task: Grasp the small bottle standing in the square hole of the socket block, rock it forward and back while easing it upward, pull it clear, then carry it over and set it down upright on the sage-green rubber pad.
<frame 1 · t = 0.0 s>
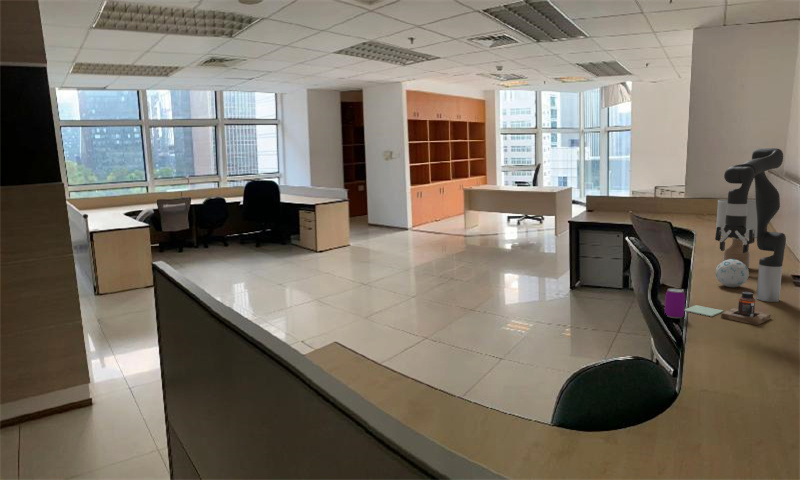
hand: (733, 251, 224), 29 cm above the table, fingers open, 8 cm apart
socket block: (745, 318, 227), on the table
pad: (703, 311, 238), on the table
supplement bottle: (745, 318, 227), resting in socket block
beverage can: (674, 316, 232), on the table
lamp: (735, 268, 328), on the table
puzzle ball: (730, 287, 281), on the table
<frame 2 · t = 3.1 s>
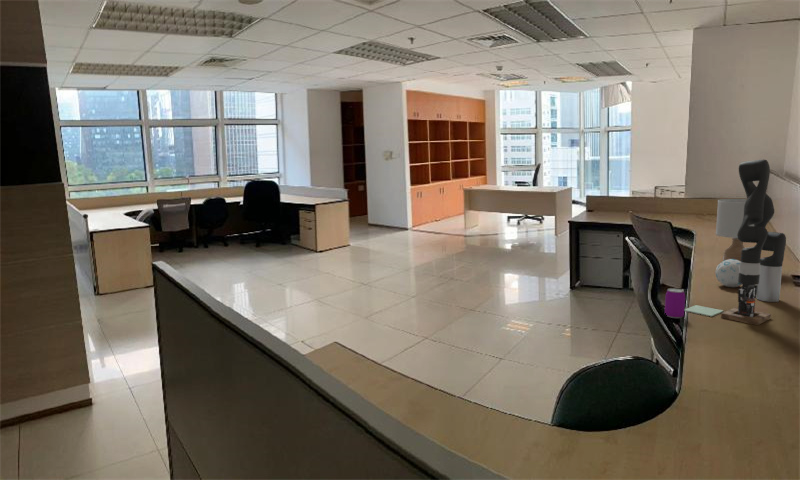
hand: (746, 310, 227), 4 cm above the table, fingers closed on supplement bottle, 6 cm apart
supplement bottle: (745, 318, 227), resting in socket block, touching gripper
everything else where it was.
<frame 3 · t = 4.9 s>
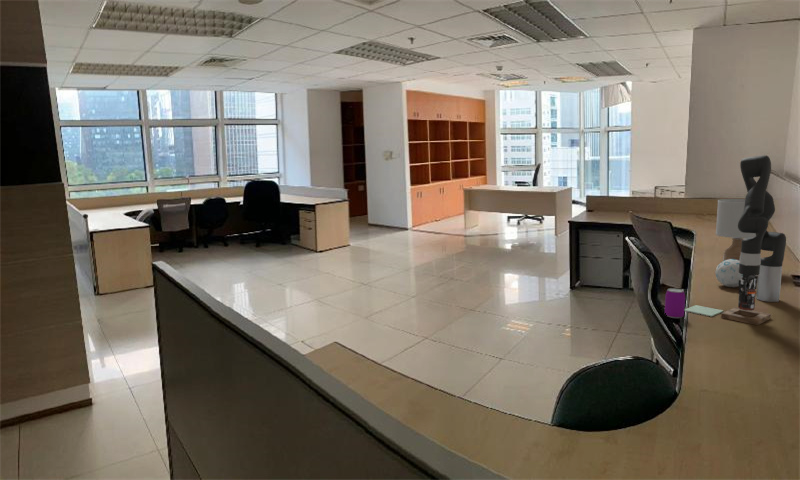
hand: (746, 300, 226), 8 cm above the table, fingers closed on supplement bottle, 6 cm apart
supplement bottle: (746, 309, 227), point 4 cm above the table, touching gripper
everything else where it was.
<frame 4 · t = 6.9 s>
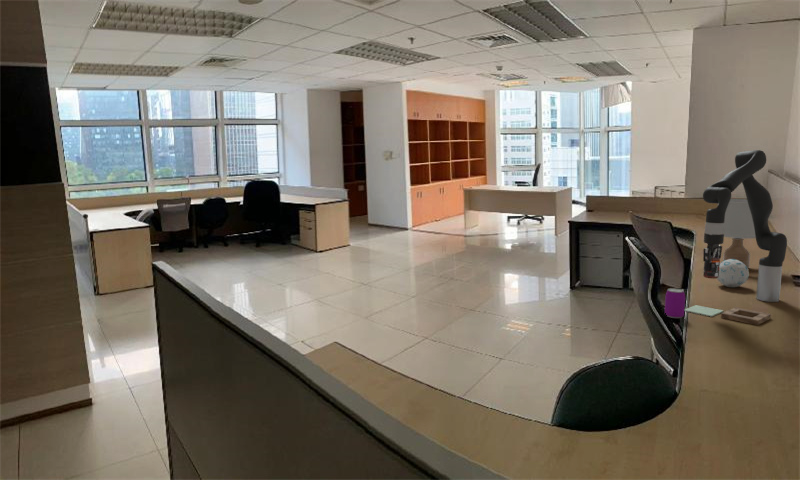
hand: (711, 269, 234), 20 cm above the table, fingers closed on supplement bottle, 6 cm apart
supplement bottle: (710, 278, 234), point 16 cm above the table, touching gripper
everything else where it was.
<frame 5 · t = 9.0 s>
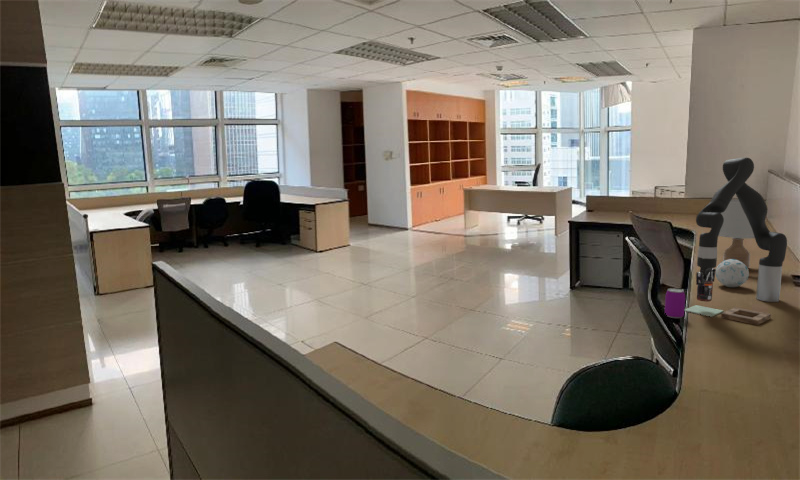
hand: (704, 292, 237), 9 cm above the table, fingers closed on supplement bottle, 6 cm apart
supplement bottle: (704, 300, 238), point 5 cm above the table, touching gripper
everything else where it was.
when the fingers open (5 cm above the table, at t = 10.7 s): supplement bottle drops 1 cm, resting on pad.
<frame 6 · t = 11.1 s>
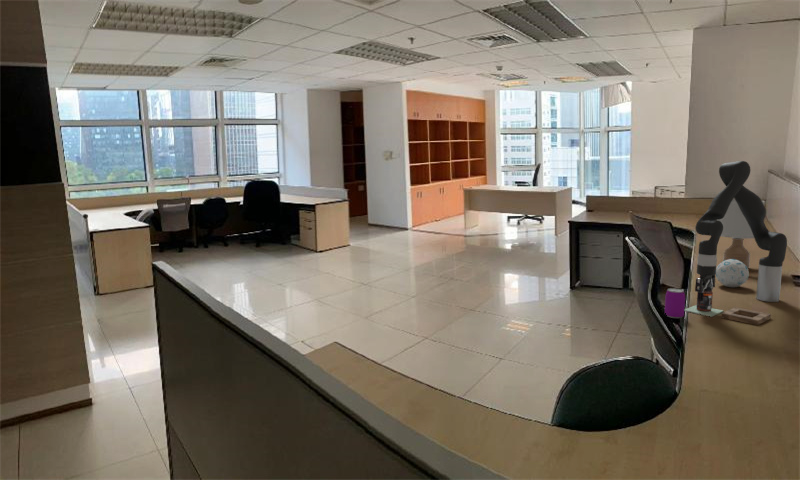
hand: (704, 298, 237), 6 cm above the table, fingers open, 8 cm apart
supplement bottle: (703, 310, 238), resting on pad
everything else where it was.
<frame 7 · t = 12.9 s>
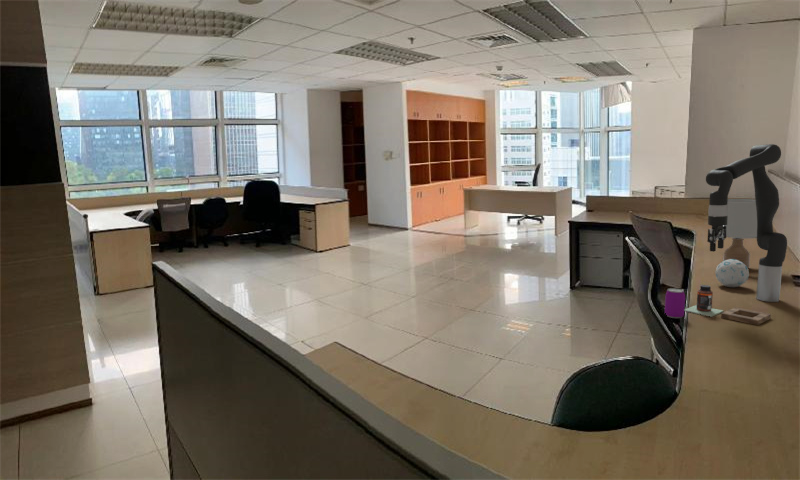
hand: (716, 249, 240), 27 cm above the table, fingers open, 8 cm apart
nothing on the table moved.
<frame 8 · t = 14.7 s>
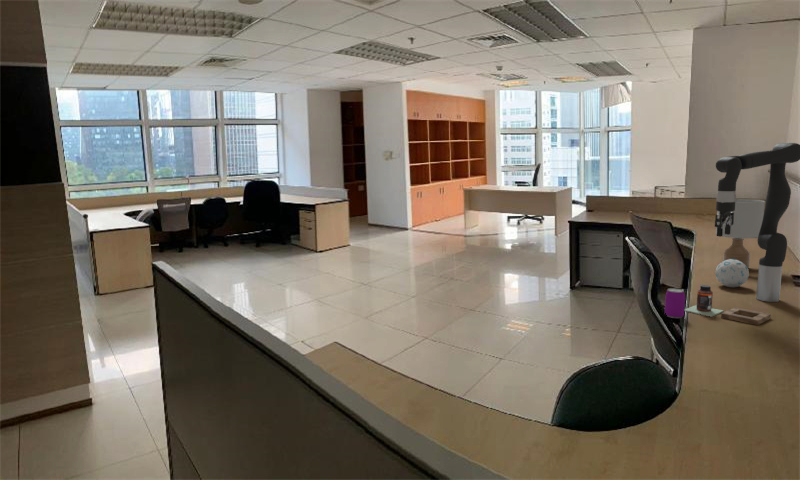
hand: (723, 235, 245), 33 cm above the table, fingers open, 8 cm apart
nothing on the table moved.
at the end: supplement bottle inside the target area on the pad (0.3 cm from its centre), point 0.4 cm above the pad's base; supplement bottle tilted 0°; the gripper is holding nothing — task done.
